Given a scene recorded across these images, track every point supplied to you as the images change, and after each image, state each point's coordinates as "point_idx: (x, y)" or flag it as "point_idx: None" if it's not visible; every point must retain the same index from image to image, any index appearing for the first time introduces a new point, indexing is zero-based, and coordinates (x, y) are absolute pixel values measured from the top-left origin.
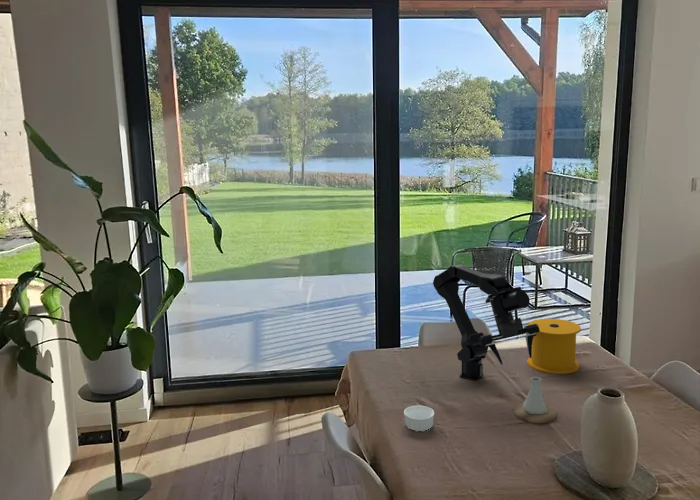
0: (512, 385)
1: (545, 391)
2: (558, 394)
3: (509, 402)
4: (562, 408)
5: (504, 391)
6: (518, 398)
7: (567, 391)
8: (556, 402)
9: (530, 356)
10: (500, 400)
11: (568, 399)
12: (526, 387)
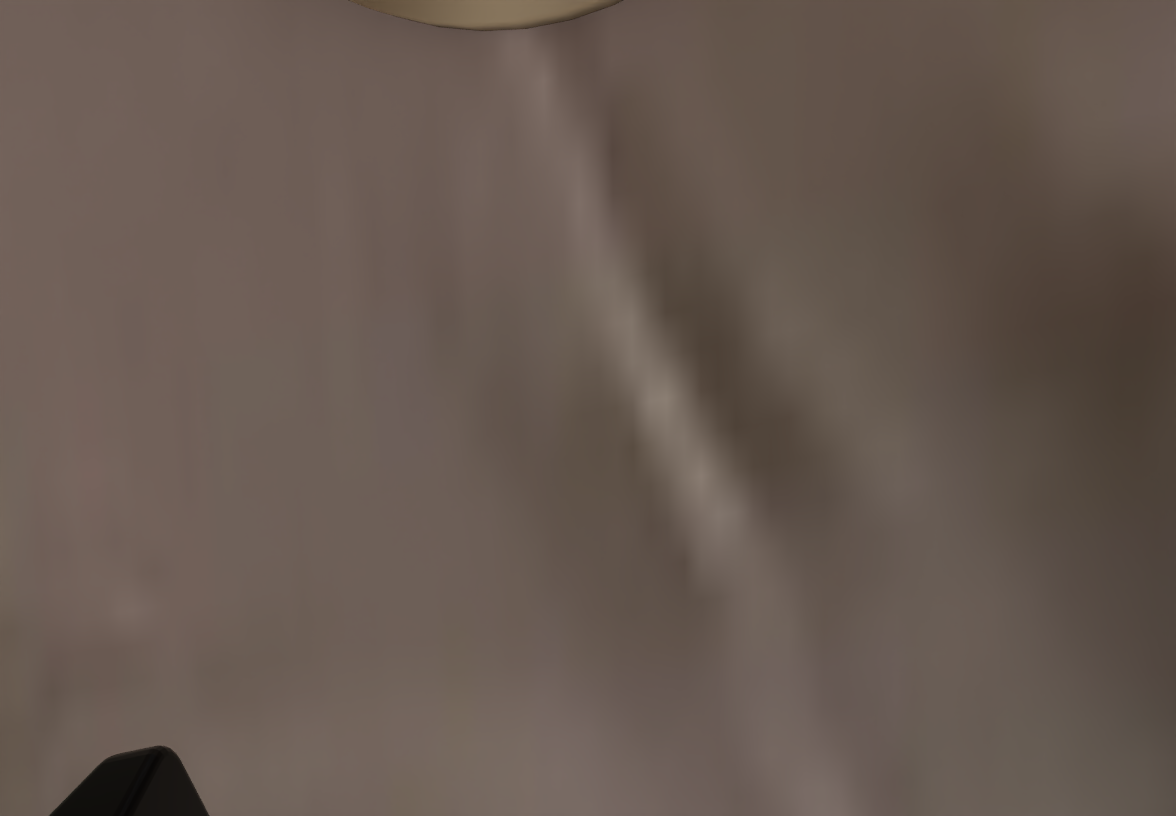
0: (889, 812)
1: (357, 638)
2: (176, 556)
3: (961, 43)
4: (88, 39)
5: (1048, 538)
6: (785, 273)
7: (72, 679)
8: (183, 251)
9: (112, 779)
10: (1149, 94)
11: (38, 401)
12: (649, 755)
